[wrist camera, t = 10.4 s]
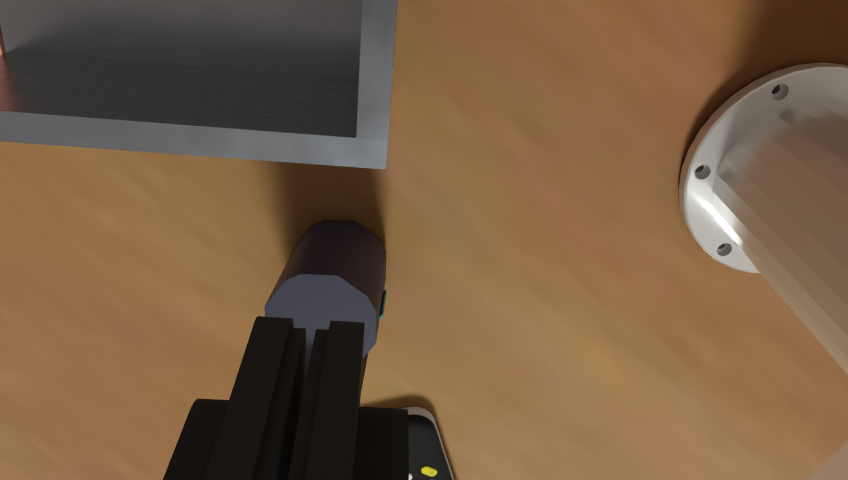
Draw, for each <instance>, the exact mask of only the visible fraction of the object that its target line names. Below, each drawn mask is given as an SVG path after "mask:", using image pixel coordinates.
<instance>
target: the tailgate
mask: <svg viewBox="0 0 848 480" xmlns="http://www.w3.org/2000/svg"><path fill="white" fill-rule="evenodd" d="M4 53H6V50H5V45H4V40H3V35H2V30H1V26H0V55H2V54H4Z"/></svg>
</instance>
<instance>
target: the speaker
mask: <svg viewBox="0 0 848 480" xmlns="http://www.w3.org/2000/svg"><path fill="white" fill-rule="evenodd" d="M385 280H386V250H385V249H384V247H383V245H382V243H381V241H380V239H379V238H378V237H376V236H375V235H374V234H372V233H371V232H369V231H368V230H367V229H365V228H364V227H362V226H361V225H360V224H358V223H357V222H356V221H340V220H324V221H321V222H319V223H317V224H315V225H312V226H311V227H310V229H309V230H308V231H307V233H306V234H305V235H304V236H303V238H302V239H301V240H300V242H299V243H298V244H297V246H296V247H295V249H294V250H293V252H292V254H291V256H290V258H289V260H288V262H287V264H286V266H285V268H284V270H283V272H282V274H281V276H280V278H279V280H278V282H277V284H276V286H275V288H274V289H273V291H272V293H271V295H270V297H269V299H268V301H267V303H266V305H265V317H280V318H292V319H293V322H294V328H305V329H306V379H307V374H308V368H309V363H310V358H311V352H312V347H313V342H314V336H315V331H316V329H327V330H329V325H330V321H331V320H332V321H349V322H365V328H364V346H363V363H362V379H361V389H362V384H363V378H364V373H365V368H366V362H367V357H368V352H369V351H370V350H371V348H372V347H373V346H374V345H375V344H376V338H377V332H378V325H379V320H380V319H381V318H382V317H383V313H384V305H385V298H386V290H385V291H384V287H385Z"/></svg>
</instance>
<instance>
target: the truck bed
mask: <svg viewBox="0 0 848 480" xmlns="http://www.w3.org/2000/svg"><path fill="white" fill-rule="evenodd" d="M397 1H398V0H0V26H1V30H2V35H3V40H4V45H5V50H6V53H4V54H2V55H0V141H4V142H18V143H31V144H45V145H59V146H72V147H86V148H100V149H113V150H127V151H141V152H154V153H168V154H182V155H195V156H209V157H222V158H236V159H250V160H263V161H277V162H291V163H304V164H318V165H332V166H345V167H359V168H372V169H386V161H387V147H388V132H389V117H390V103H391V88H392V74H393V59H394V44H395V30H396V15H397Z"/></svg>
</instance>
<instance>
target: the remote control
mask: <svg viewBox="0 0 848 480" xmlns="http://www.w3.org/2000/svg"><path fill="white" fill-rule="evenodd" d="M401 409H408V437H409V480H454V477H453V474H452V471H451V468H450V465H449V462H448V459H447V456H446V453H445V450H444V447H443V444H442V441H441V437H440V434H439V431H438V428H437V425H436V422H435V419H434V417H433V415H432V414H431V413H430V412H429V411H428V410H426V409H424V408H421V407H414V406H413V407H406V408H401Z"/></svg>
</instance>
